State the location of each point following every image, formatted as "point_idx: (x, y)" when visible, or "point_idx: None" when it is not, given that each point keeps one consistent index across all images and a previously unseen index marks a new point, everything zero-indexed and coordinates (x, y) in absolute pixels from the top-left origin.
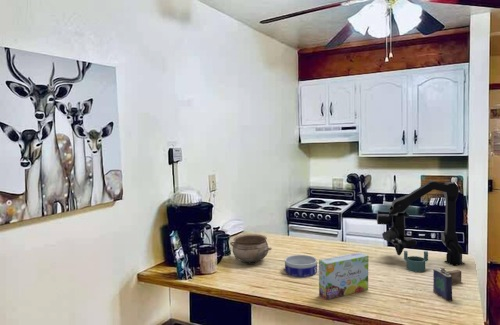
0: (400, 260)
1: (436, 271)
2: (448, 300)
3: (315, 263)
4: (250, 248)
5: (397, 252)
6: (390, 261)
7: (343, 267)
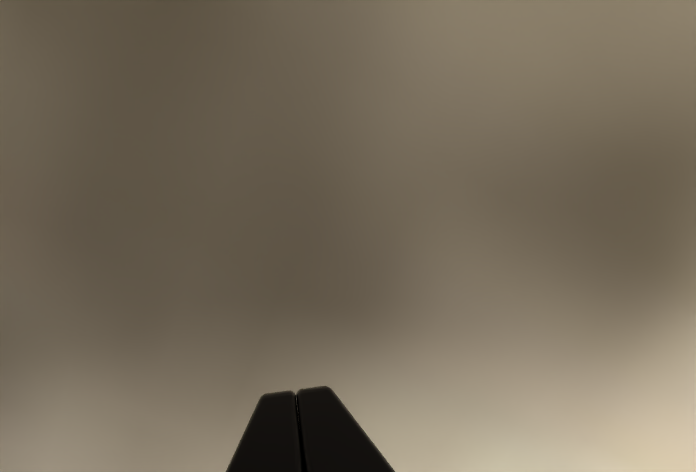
0: (322, 337)
1: None
2: None
3: None
4: None
5: (309, 470)
6: (352, 20)
7: None
